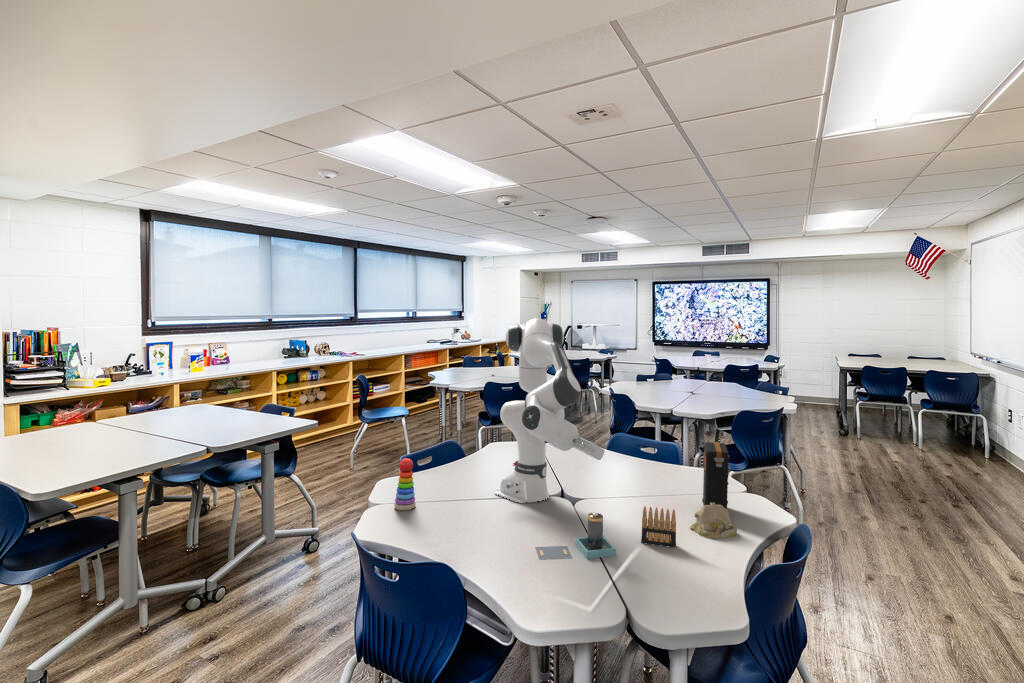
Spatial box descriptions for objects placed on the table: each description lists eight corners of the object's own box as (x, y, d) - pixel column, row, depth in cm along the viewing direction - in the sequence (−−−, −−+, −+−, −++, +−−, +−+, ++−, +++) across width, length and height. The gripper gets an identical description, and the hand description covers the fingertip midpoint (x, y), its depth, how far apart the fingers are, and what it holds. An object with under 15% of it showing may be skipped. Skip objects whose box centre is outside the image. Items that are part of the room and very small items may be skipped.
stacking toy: (398, 512, 179) (398, 462, 179) (391, 505, 186) (391, 457, 185) (418, 508, 184) (418, 459, 183) (411, 501, 190) (410, 454, 190)
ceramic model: (699, 539, 160) (700, 509, 159) (685, 525, 171) (686, 497, 170) (741, 538, 160) (742, 508, 160) (724, 524, 172) (725, 496, 171)
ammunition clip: (676, 545, 155) (676, 508, 155) (676, 547, 153) (676, 510, 153) (641, 540, 158) (642, 504, 158) (641, 543, 156) (641, 506, 156)
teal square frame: (586, 561, 144) (586, 552, 144) (575, 547, 153) (575, 538, 153) (615, 558, 146) (615, 548, 146) (602, 544, 155) (603, 535, 155)
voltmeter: (729, 521, 174) (731, 452, 172) (703, 518, 176) (705, 450, 175) (725, 506, 188) (727, 442, 187) (701, 503, 191) (703, 440, 190)
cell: (585, 552, 148) (585, 515, 148) (589, 546, 153) (589, 509, 152) (600, 555, 146) (601, 517, 146) (604, 549, 151) (604, 512, 150)
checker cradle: (539, 562, 143) (539, 559, 143) (535, 550, 151) (535, 546, 151) (572, 561, 144) (572, 557, 144) (566, 548, 152) (566, 545, 152)
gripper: (592, 436, 142) (618, 452, 150) (547, 417, 159) (573, 431, 166) (582, 456, 141) (609, 471, 149) (539, 434, 158) (565, 448, 165)
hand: (590, 450), depth 158 cm, fingers open, 8 cm apart
